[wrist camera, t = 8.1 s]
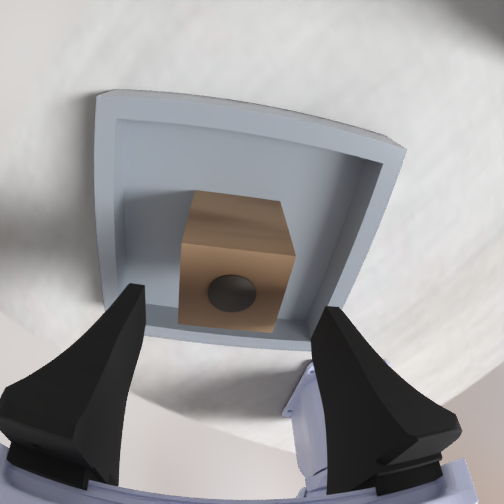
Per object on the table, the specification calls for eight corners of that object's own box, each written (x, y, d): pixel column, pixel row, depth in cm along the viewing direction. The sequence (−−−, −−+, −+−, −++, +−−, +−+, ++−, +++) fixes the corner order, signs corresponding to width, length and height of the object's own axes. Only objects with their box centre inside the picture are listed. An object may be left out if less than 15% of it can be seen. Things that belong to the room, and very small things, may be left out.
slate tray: (313, 325, 23) (320, 351, 21) (117, 303, 21) (108, 329, 19) (385, 135, 15) (407, 149, 13) (115, 89, 13) (96, 95, 11)
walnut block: (263, 269, 19) (272, 334, 15) (188, 260, 19) (177, 325, 14) (280, 201, 17) (296, 257, 13) (195, 189, 16) (181, 244, 12)
